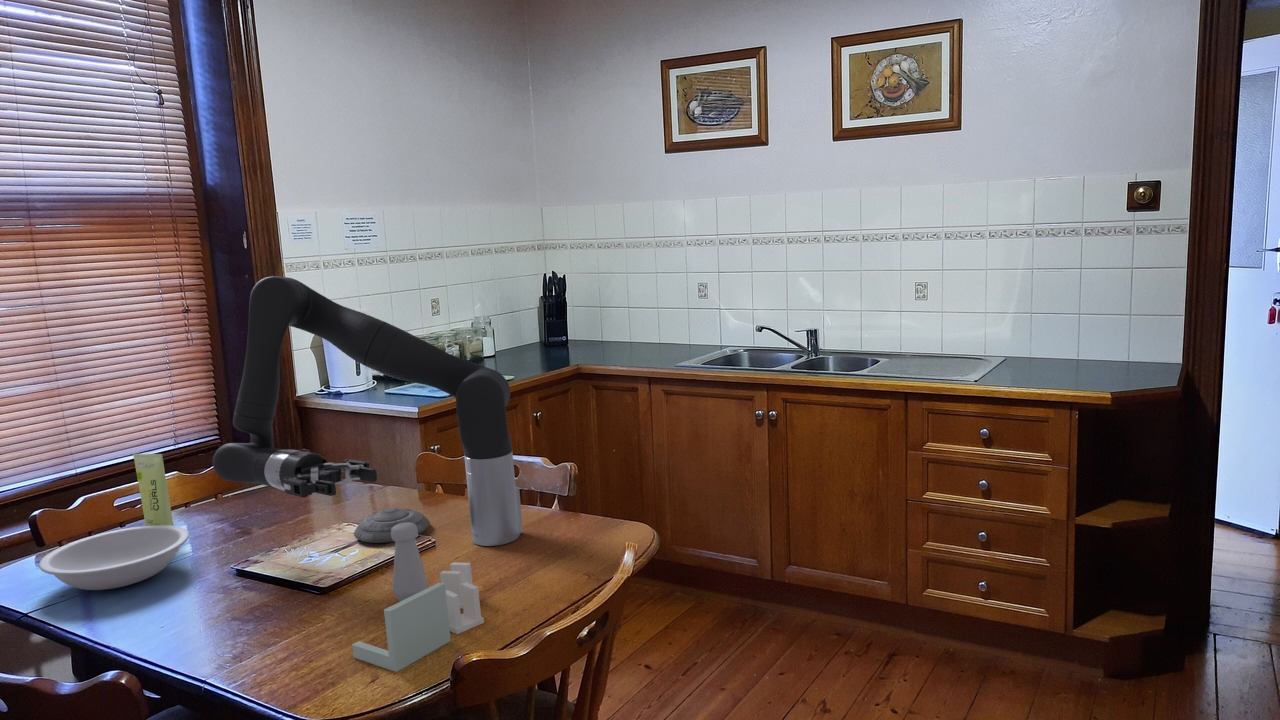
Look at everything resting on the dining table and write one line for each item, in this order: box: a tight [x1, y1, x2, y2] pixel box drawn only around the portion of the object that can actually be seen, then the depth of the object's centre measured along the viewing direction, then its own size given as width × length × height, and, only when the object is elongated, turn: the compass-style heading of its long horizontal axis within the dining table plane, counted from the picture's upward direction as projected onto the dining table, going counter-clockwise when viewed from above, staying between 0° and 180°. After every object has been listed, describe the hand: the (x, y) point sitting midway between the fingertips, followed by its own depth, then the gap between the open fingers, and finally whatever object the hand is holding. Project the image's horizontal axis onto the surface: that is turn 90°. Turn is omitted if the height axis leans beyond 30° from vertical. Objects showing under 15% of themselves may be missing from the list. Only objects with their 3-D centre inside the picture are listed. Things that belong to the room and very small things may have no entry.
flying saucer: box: [353, 507, 431, 544], centre depth 183 cm, size 15×15×6 cm
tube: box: [133, 453, 175, 526], centre depth 183 cm, size 6×5×20 cm
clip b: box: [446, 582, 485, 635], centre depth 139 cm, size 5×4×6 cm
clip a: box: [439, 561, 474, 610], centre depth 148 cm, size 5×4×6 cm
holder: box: [351, 581, 452, 673], centre depth 132 cm, size 10×9×9 cm
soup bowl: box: [38, 525, 190, 591], centre depth 166 cm, size 24×24×7 cm
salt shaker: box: [391, 522, 429, 602], centre depth 149 cm, size 6×6×13 cm
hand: (355, 482), depth 154 cm, fingers open, 8 cm apart
